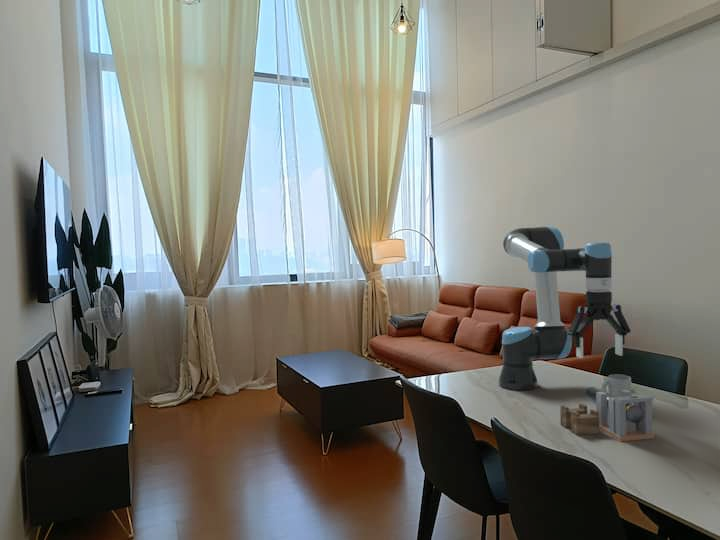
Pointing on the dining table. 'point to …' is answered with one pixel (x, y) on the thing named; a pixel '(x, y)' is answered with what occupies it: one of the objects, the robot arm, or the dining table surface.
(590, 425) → the rack
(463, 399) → the dining table surface
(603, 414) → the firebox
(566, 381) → the dining table surface
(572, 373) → the dining table surface
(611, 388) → the cup
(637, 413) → the tube
